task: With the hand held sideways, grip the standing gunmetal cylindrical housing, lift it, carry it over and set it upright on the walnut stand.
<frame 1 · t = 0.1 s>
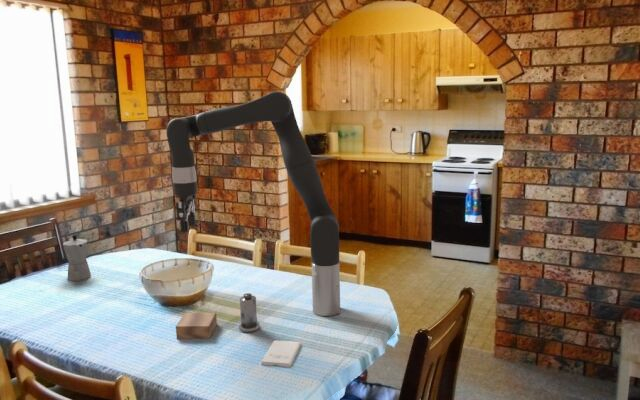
hand: (188, 228, 174), 29 cm above the table, tool pointing down, fingers open, 8 cm apart
external hard drive: (281, 357, 149), on the table
coffeepot: (78, 277, 217), on the table
housing: (249, 328, 166), on the table
stand: (197, 331, 165), on the table
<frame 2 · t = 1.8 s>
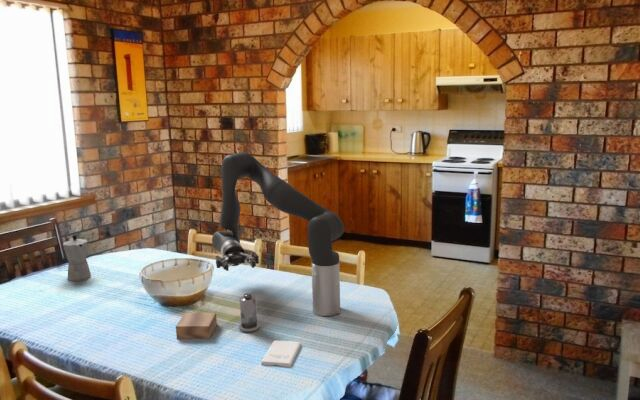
hand: (240, 266, 173), 17 cm above the table, tool horizontal, fingers open, 8 cm apart
nothing on the table moved.
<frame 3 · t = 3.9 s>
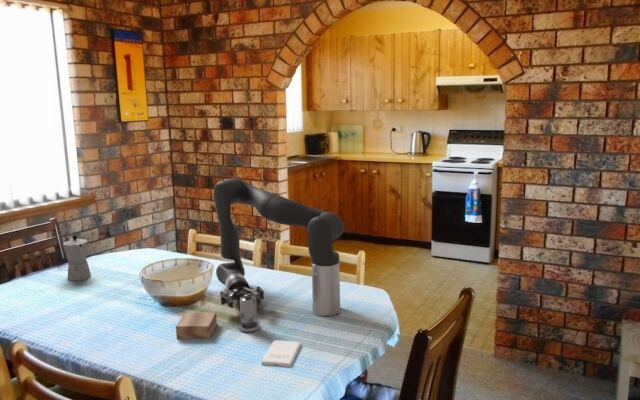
hand: (245, 303, 170), 6 cm above the table, tool horizontal, fingers open, 8 cm apart
nothing on the table moved.
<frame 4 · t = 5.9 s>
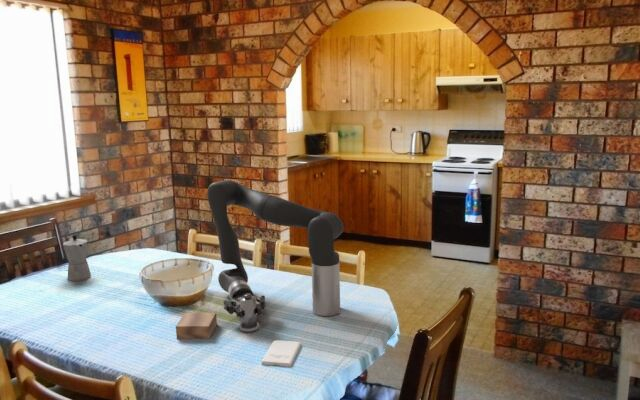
hand: (250, 313, 162), 6 cm above the table, tool horizontal, fingers closed on housing, 5 cm apart
housing: (249, 328, 166), on the table, touching gripper
everything else where it was.
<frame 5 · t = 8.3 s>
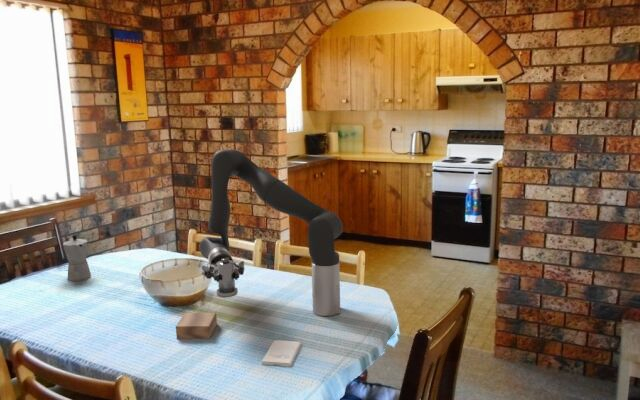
hand: (227, 277, 160), 18 cm above the table, tool horizontal, fingers closed on housing, 5 cm apart
housing: (227, 293, 164), point 12 cm above the table, touching gripper
everything else where it was.
when the fingers open (11 cm above the table, at t = 10.9 s): housing drops 1 cm, resting on stand.
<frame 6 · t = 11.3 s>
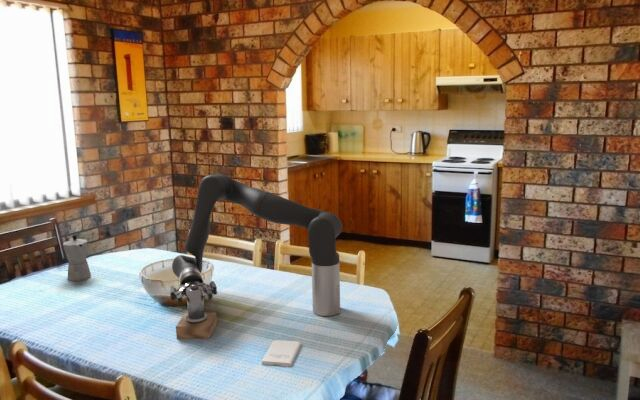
hand: (195, 298, 161), 11 cm above the table, tool horizontal, fingers open, 8 cm apart
housing: (196, 319, 164), point 4 cm above the table, touching stand
everything else where it was.
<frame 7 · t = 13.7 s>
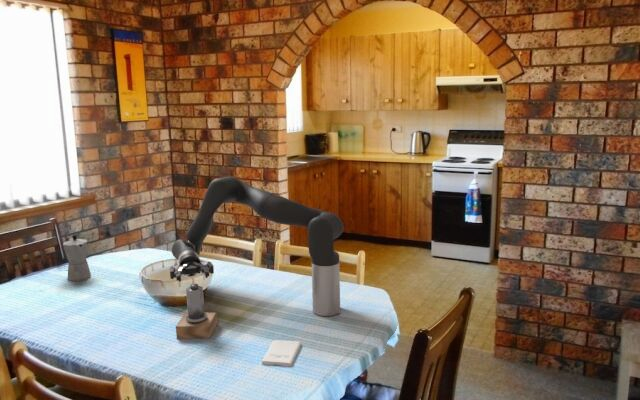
hand: (193, 276, 172), 14 cm above the table, tool horizontal, fingers open, 8 cm apart
nothing on the table moved.
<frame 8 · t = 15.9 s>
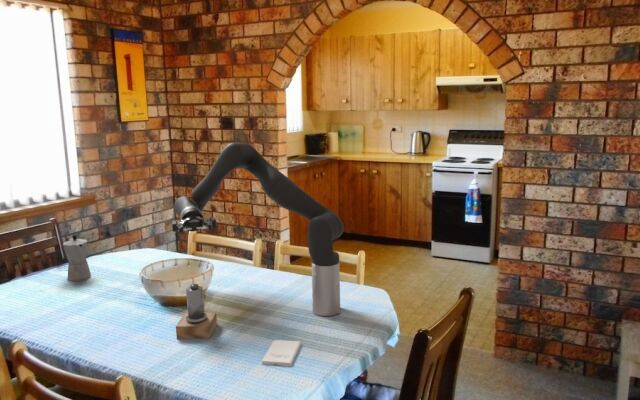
hand: (196, 229, 170), 30 cm above the table, tool horizontal, fingers open, 8 cm apart
nothing on the table moved.
at the end: housing 0.1 cm off-centre on the stand, point 4.0 cm above the stand's base; housing tilted 0°; the gripper is holding nothing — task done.
